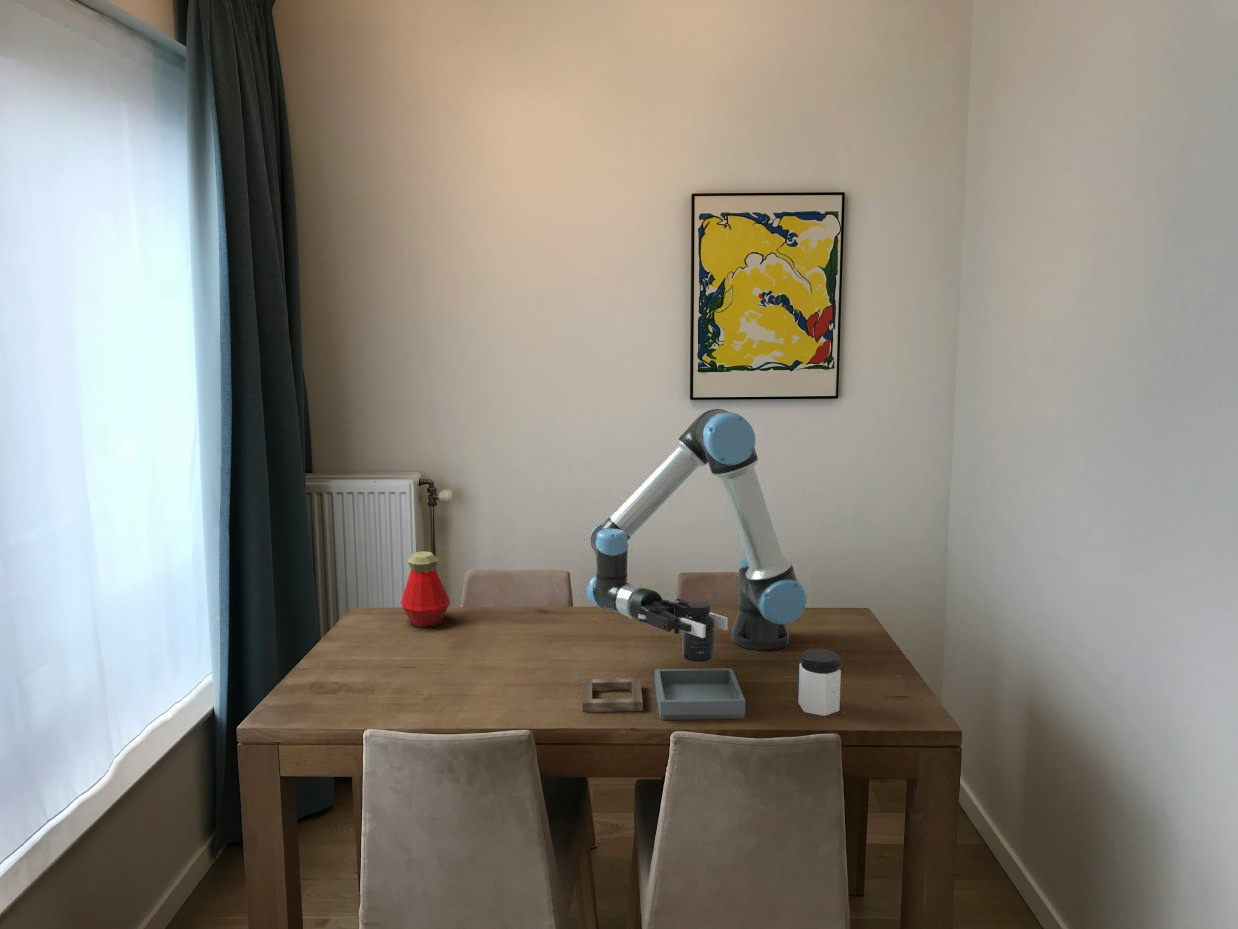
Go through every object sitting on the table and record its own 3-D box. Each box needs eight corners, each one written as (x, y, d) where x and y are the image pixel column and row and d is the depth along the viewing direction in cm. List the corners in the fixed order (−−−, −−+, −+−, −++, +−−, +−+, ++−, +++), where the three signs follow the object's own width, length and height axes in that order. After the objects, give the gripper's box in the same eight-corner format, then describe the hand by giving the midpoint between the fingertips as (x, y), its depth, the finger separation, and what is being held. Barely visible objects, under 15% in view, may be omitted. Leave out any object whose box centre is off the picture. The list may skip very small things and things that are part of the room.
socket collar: (639, 686, 200) (639, 678, 200) (642, 711, 187) (642, 702, 187) (583, 687, 200) (583, 679, 199) (582, 711, 187) (582, 703, 187)
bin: (731, 684, 201) (732, 668, 200) (745, 718, 183) (745, 700, 183) (654, 685, 201) (654, 669, 200) (660, 719, 183) (660, 702, 182)
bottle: (459, 625, 243) (457, 556, 240) (413, 634, 235) (410, 563, 232) (437, 611, 256) (435, 545, 253) (393, 619, 248) (390, 551, 245)
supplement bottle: (679, 651, 193) (680, 599, 192) (709, 651, 194) (711, 599, 192) (684, 663, 187) (685, 609, 185) (715, 662, 187) (717, 608, 186)
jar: (818, 719, 183) (819, 665, 181) (790, 706, 189) (792, 653, 188) (847, 709, 188) (849, 656, 186) (819, 696, 194) (821, 645, 193)
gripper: (668, 610, 209) (743, 634, 193) (609, 628, 196) (684, 655, 179) (668, 580, 208) (744, 601, 192) (609, 596, 195) (685, 620, 178)
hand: (715, 627), depth 186 cm, fingers closed on supplement bottle, 7 cm apart
